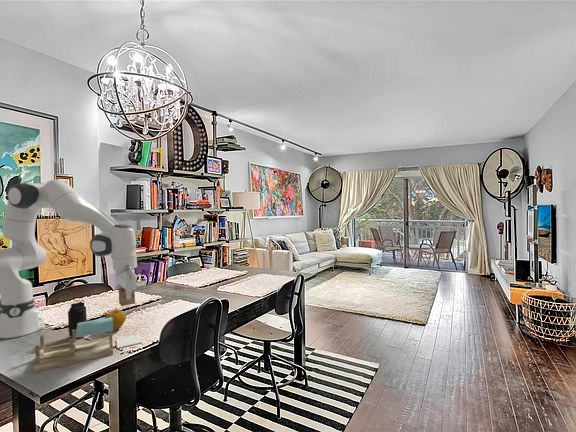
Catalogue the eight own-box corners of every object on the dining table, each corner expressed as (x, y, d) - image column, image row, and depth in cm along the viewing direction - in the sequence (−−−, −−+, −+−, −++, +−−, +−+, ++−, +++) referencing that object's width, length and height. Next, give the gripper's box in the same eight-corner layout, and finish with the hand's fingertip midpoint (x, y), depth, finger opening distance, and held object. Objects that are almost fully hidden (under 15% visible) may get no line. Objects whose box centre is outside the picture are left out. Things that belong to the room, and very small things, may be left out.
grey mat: (116, 340, 135) (116, 339, 134) (139, 335, 139) (139, 334, 139) (117, 348, 127) (117, 347, 127) (142, 343, 131) (141, 342, 131)
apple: (121, 333, 142) (120, 313, 142) (100, 334, 141) (99, 314, 141) (129, 325, 151) (128, 306, 151) (109, 326, 150) (108, 307, 150)
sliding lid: (78, 328, 127) (77, 323, 127) (112, 321, 133) (112, 316, 133) (76, 337, 117) (75, 332, 117) (113, 330, 123) (113, 325, 123)
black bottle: (78, 340, 136) (76, 305, 135) (65, 339, 137) (63, 304, 137) (91, 333, 143) (90, 300, 142) (79, 332, 144) (77, 299, 144)
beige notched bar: (40, 356, 122) (39, 334, 122) (112, 340, 134) (111, 321, 134) (33, 372, 110) (32, 348, 110) (113, 354, 122) (112, 332, 122)
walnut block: (119, 303, 133) (118, 289, 132) (132, 300, 136) (131, 286, 135) (121, 306, 129) (120, 291, 128) (135, 303, 132) (134, 289, 131)
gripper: (139, 266, 125) (141, 301, 126) (128, 259, 141) (129, 290, 142) (121, 268, 121) (123, 304, 122) (112, 261, 137) (113, 293, 138)
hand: (126, 297), depth 132 cm, fingers closed on walnut block, 5 cm apart
